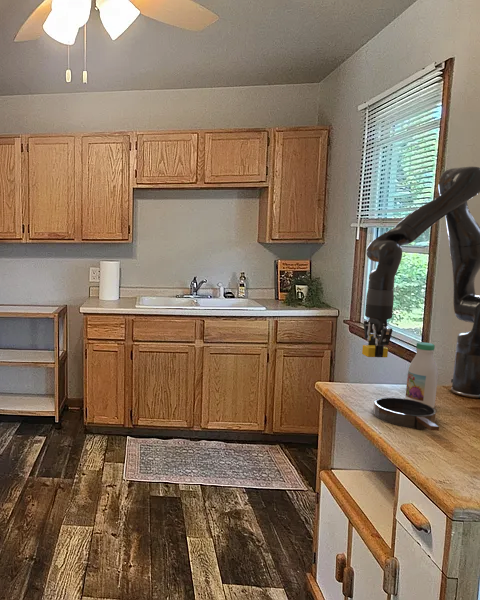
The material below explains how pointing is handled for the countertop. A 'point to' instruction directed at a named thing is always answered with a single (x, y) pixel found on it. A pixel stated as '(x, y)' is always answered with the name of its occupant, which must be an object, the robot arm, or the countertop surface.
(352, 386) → the countertop surface
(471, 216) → the robot arm
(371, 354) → the sponge
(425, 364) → the milk bottle
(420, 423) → the pan handle
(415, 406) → the pan
